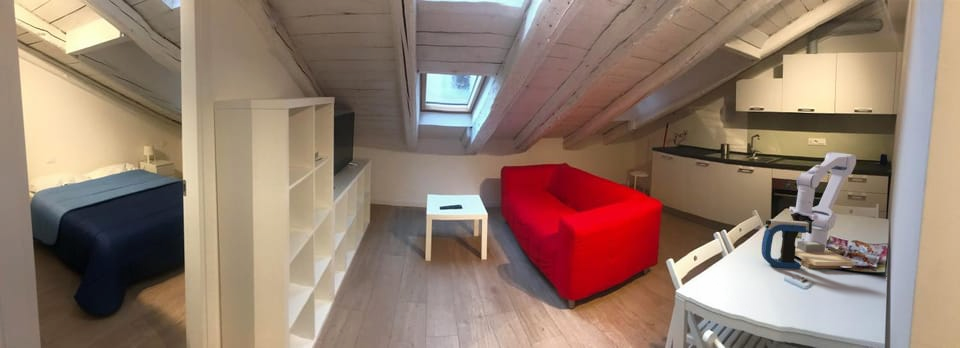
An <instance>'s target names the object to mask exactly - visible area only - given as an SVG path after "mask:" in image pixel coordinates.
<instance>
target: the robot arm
mask: <svg viewBox="0 0 960 348" xmlns="http://www.w3.org/2000/svg"><path fill="white" fill-rule="evenodd" d="M856 164H857V157H856V155H855V154H853V153H851V154H850V153H841V152H833V151H829V152H827V153H826V154H825V157H824V160H823V162H822V163H821V164H816V165H814V166H813V167H811V168H810V169H809V170H807V171H806V172H802V173H799V174H798V175H797V178H796V188H797V190H798V191H797V196H796V202H795V203H796V204H795V206H789V209H788V211H789V212H792V213H791V214H790V216H791V218H793V221H802V222H805V220H808V221H809V222H811V223H812V234H809V233H808V232H806V231H805V232H801V233H802V238H800V239H801V240H800V241H817V242H819V243H821V244H824V245H825V248H826V247H827V243H828V235H829V231H830V230H832V229H833V228H834V227H835V224H836V219H837V215H836V213H835V212H834V210H833V207H834V205H835V203H836V201H837V198H838V196H839V194H840V191H841V189H842V187H843V184H844V183H845V181H846V178H847V176H850V175H851V174H852V172H853V171H854V169H855V167H856ZM828 173H830V174H831V176H830V179H829V181H828V183H827V186H826V188H825V190H824V192H823V194H822V196H821V199H820V201H819V204H818V205H816V206H813V204H814V199H815V198H814V197H815V193H816V188H818V186H819V184H820V182H821V181H822V179H823V178H825V177H826V176H828Z"/></svg>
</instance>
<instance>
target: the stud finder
mask: <svg viewBox="0 0 960 348" xmlns="http://www.w3.org/2000/svg"><path fill="white" fill-rule="evenodd" d="M796 245H797V248H798V249H800V250H802V251H804V252H824V250H825V245H824V244H821V243H819V242H817V241H801V240H798V241H797V244H796Z"/></svg>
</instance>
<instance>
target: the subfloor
mask: <svg viewBox="0 0 960 348" xmlns="http://www.w3.org/2000/svg"><path fill="white" fill-rule="evenodd" d="M781 247H782V244H781V245H780V248H781ZM795 247H796V248H795V257H798V258H800V259H801V261H800V265H801V266H803V267H805V268H807V269H839V268H838V267H840V266H856V261H854V260H852V259H851V258H847V257H845V256H844V255H841V254H839V253H837V252H834V251H832V250H828V249H825V250H824V252H804V251H802V250H800V249H798V248H797V244H795ZM779 252H780V254H781V250H780V251H779Z"/></svg>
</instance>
